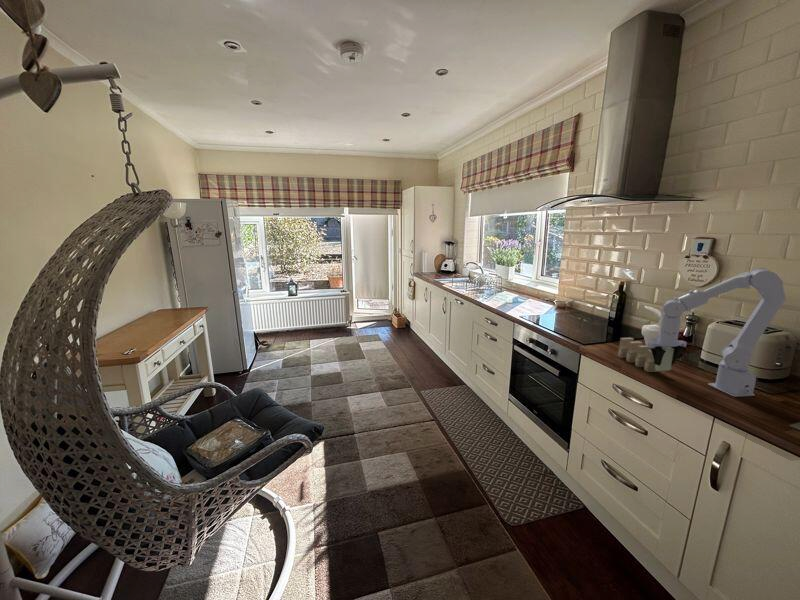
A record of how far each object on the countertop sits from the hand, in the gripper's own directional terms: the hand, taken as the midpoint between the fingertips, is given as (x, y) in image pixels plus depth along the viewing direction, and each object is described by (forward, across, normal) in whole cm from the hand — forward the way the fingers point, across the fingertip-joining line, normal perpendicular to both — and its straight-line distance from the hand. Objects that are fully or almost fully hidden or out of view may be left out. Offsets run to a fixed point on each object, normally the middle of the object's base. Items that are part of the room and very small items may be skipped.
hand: (663, 364), depth 131 cm
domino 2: (+5, 0, -15) cm, 16 cm away
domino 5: (+2, 0, 0) cm, 2 cm away
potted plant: (+5, -23, -30) cm, 38 cm away
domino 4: (+5, 0, -5) cm, 7 cm away
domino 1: (+5, 0, -20) cm, 21 cm away
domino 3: (+5, 0, -10) cm, 11 cm away
